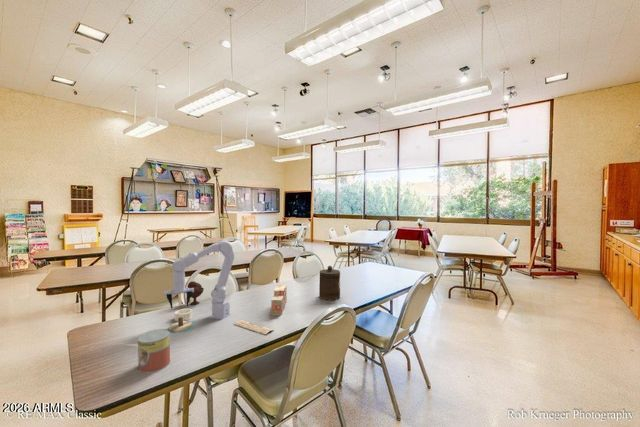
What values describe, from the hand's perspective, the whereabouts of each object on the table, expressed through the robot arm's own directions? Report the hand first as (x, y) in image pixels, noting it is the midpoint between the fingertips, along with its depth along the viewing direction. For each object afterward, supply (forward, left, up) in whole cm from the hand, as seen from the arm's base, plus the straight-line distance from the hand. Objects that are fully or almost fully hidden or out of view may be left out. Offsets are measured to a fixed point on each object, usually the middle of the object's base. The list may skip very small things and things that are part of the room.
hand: (179, 306), depth 156 cm
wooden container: (-70, -65, -10) cm, 97 cm away
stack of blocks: (-45, -34, -10) cm, 57 cm away
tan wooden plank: (-42, -6, -10) cm, 43 cm away
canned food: (-19, +37, -10) cm, 42 cm away
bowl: (+2, -6, -10) cm, 12 cm away
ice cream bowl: (+14, -30, -10) cm, 35 cm away
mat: (-4, +5, -10) cm, 12 cm away
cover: (-4, +5, -9) cm, 11 cm away
